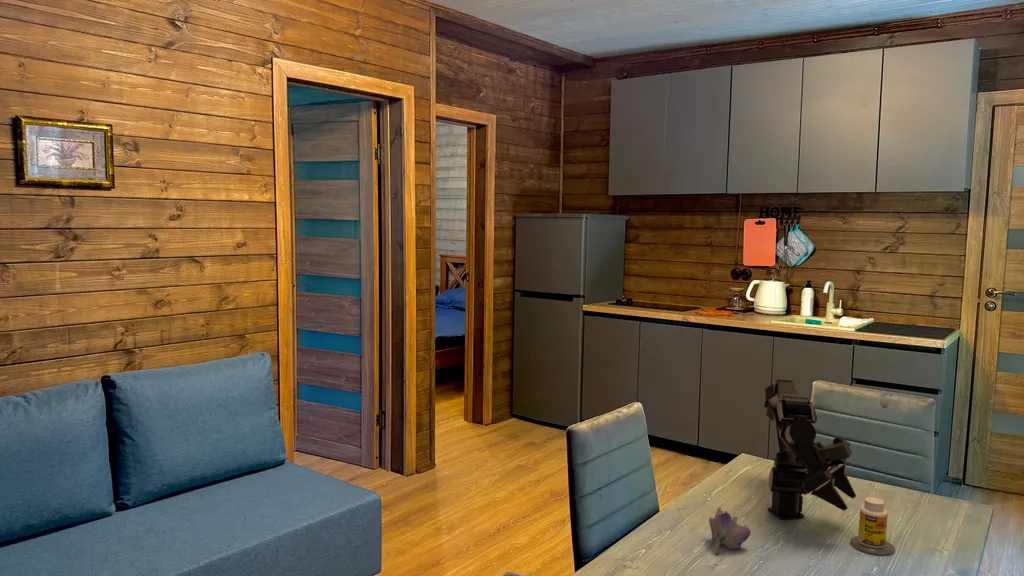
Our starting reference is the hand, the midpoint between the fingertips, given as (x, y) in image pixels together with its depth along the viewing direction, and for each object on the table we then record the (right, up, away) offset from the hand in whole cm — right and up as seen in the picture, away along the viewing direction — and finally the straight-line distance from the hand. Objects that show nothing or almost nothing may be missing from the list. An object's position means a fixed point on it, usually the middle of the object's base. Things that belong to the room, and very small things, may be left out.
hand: (850, 503), depth 168 cm
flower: (-30, -9, -5) cm, 32 cm away
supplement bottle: (+4, -9, -3) cm, 10 cm away
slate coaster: (+4, -9, -3) cm, 10 cm away
